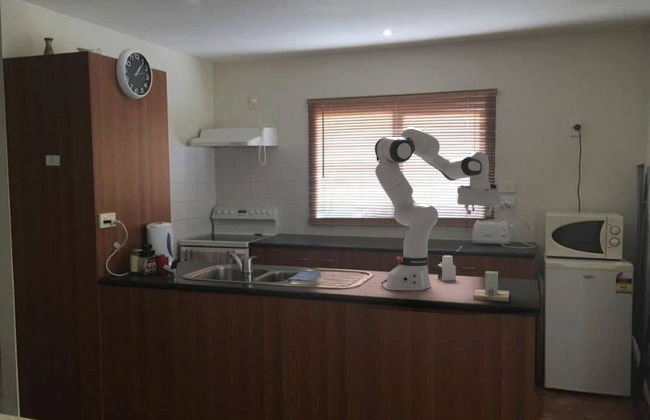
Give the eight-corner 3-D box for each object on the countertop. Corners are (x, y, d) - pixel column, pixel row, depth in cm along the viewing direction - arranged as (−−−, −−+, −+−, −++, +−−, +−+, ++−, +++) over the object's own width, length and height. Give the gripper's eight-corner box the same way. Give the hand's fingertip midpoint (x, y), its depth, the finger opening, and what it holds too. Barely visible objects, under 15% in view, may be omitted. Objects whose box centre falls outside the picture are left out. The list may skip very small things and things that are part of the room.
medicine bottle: (437, 278, 282) (437, 254, 281) (451, 277, 282) (451, 254, 281) (441, 280, 274) (441, 256, 274) (455, 280, 275) (456, 256, 274)
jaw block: (485, 291, 241) (485, 271, 241) (497, 292, 240) (497, 271, 239) (485, 294, 237) (485, 273, 236) (497, 294, 235) (497, 273, 234)
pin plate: (475, 292, 247) (475, 283, 247) (509, 294, 243) (509, 285, 242) (473, 299, 234) (473, 289, 234) (508, 301, 229) (508, 291, 229)
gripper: (459, 184, 265) (458, 213, 263) (502, 186, 265) (501, 215, 264) (455, 186, 271) (455, 214, 270) (498, 187, 271) (497, 216, 270)
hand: (478, 214), depth 267 cm, fingers open, 8 cm apart
